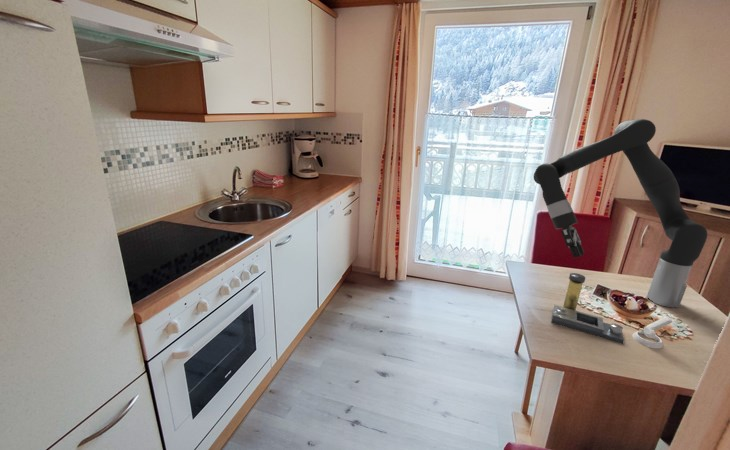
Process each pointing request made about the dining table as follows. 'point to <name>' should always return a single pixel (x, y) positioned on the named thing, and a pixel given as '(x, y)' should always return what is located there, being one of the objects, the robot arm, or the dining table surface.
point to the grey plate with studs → (600, 329)
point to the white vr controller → (652, 333)
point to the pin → (573, 290)
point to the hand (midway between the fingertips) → (579, 256)
